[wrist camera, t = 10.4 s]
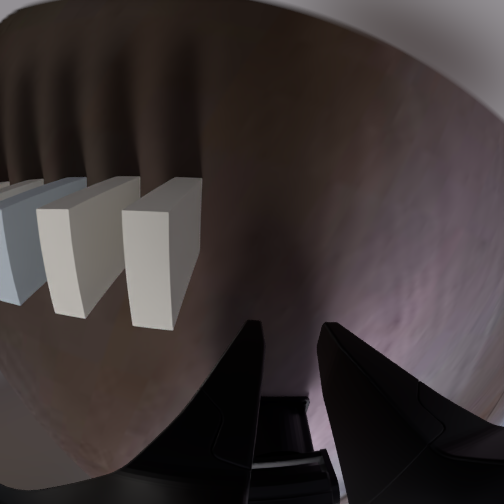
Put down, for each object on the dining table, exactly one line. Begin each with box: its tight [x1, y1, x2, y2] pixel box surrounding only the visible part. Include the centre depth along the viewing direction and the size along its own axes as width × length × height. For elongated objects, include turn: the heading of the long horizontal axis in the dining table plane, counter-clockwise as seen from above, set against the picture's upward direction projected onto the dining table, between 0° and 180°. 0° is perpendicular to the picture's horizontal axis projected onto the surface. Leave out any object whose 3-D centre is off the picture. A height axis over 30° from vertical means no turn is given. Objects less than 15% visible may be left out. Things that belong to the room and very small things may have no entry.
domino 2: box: [0, 177, 87, 306], centre depth 14 cm, size 2×5×9 cm, turn 174°
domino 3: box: [36, 176, 140, 319], centre depth 15 cm, size 2×5×9 cm, turn 176°
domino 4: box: [122, 177, 202, 330], centre depth 15 cm, size 2×5×9 cm, turn 175°
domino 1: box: [0, 179, 44, 201], centre depth 14 cm, size 2×5×9 cm, turn 175°
